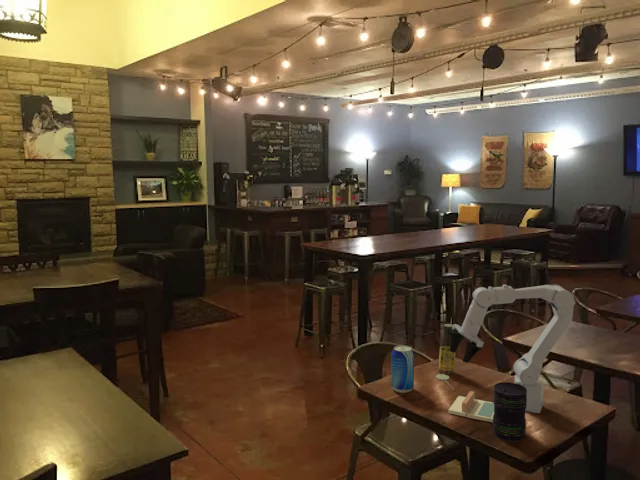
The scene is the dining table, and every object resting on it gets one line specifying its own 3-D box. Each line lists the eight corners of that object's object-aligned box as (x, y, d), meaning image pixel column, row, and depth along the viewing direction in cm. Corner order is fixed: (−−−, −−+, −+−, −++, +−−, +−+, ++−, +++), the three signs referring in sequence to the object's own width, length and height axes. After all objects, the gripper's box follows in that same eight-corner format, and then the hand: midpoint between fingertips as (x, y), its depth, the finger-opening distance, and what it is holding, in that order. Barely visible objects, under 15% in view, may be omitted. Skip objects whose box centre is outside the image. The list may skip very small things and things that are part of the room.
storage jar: (504, 423, 182) (506, 379, 180) (532, 435, 174) (533, 389, 172) (485, 432, 176) (487, 387, 174) (513, 445, 168) (514, 397, 166)
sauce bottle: (439, 375, 224) (439, 327, 221) (438, 369, 230) (439, 322, 228) (455, 375, 223) (456, 327, 220) (454, 370, 229) (455, 323, 226)
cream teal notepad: (502, 407, 193) (502, 404, 193) (494, 422, 182) (494, 419, 182) (476, 402, 198) (476, 399, 198) (466, 417, 187) (467, 413, 186)
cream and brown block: (475, 402, 198) (475, 390, 197) (466, 416, 187) (466, 404, 186) (458, 399, 201) (458, 387, 200) (448, 413, 190) (448, 401, 189)
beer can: (418, 390, 210) (418, 349, 207) (401, 395, 205) (402, 353, 203) (403, 383, 216) (403, 343, 214) (386, 388, 212) (386, 347, 210)
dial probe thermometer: (447, 389, 209) (434, 374, 223) (447, 392, 209) (434, 376, 224) (460, 388, 209) (446, 373, 224) (460, 391, 210) (446, 375, 224)
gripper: (451, 310, 196) (437, 345, 198) (478, 328, 183) (462, 365, 185) (466, 314, 199) (452, 348, 201) (493, 331, 186) (478, 368, 189)
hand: (458, 356), depth 194 cm, fingers open, 7 cm apart
